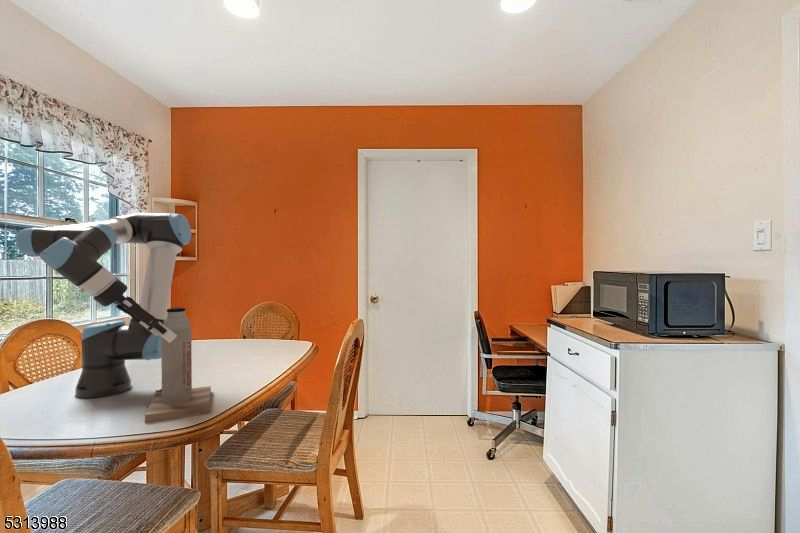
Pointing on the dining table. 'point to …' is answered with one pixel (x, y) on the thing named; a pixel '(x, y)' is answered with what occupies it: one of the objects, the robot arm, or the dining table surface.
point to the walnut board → (179, 406)
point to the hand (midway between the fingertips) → (166, 336)
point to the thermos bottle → (177, 359)
